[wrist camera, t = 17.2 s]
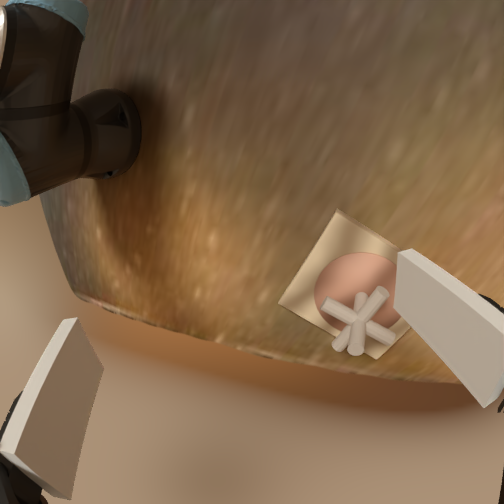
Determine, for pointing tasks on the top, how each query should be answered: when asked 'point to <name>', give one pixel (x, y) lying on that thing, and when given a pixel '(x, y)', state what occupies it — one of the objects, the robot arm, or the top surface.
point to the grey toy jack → (359, 321)
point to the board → (347, 278)
